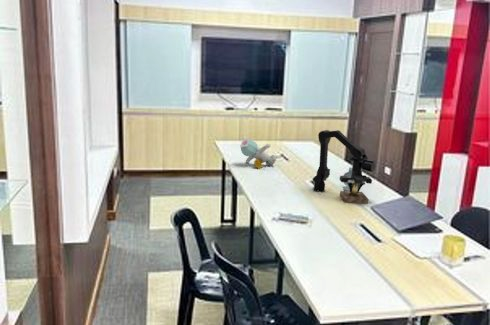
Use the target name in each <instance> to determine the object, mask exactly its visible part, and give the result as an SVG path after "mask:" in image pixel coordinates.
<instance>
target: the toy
mask: <svg viewBox="0 0 490 325" xmlns="http://www.w3.org/2000/svg"><path fill="white" fill-rule="evenodd" d="M269 148H271V144H270V143H266V144H265V145H264V146H262V147H261V148H260V147H258V144H257V143H256V142H255V141H254V140H252V139H251V138H242V140H241V143H240V151H241V153H242V155H243V156H245V157H247V158H246V159H245V163H246V164H248V163H250V162H251V161H252V160H254V162H253V163H254V167H256V168H257V169H259V170H261V169H262V168H263V163H265V164H266V165H267V166H270V167H271V166H273V165H274V164H275V163H276V161H277V156H276V155H274V154H272V155H270V154H269V153H268V152H266V150H268V149H269Z"/></svg>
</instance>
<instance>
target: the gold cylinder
mask: <svg viewBox="0 0 490 325" xmlns="http://www.w3.org/2000/svg"><path fill="white" fill-rule="evenodd" d="M358 185H359V183H357V184H356V183H355V182H352V191H351V196H357V193H358Z"/></svg>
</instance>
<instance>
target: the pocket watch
mask: <svg viewBox="0 0 490 325" xmlns="http://www.w3.org/2000/svg"><path fill="white" fill-rule="evenodd" d="M351 174H352V172H349V171H347V172H345V173H344V174H343V175H342V176H347V177H348V178H351ZM352 182H354V181H351V183H352ZM342 183H343V185H345V186H344V187H343V191H350V190H349V186H348V184H347V183H346V182H342Z"/></svg>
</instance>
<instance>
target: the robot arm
mask: <svg viewBox="0 0 490 325" xmlns="http://www.w3.org/2000/svg"><path fill="white" fill-rule="evenodd" d="M317 136H318V142H319V144H320V147H319V148H320V149H319V165H318V166H319V167H318V168H317V171H316V175H315V176H313V178H312V182H313V187H312V189H313V191H314V192H325V190H326V189H325V188H326V183H325V181H327V179H328V178H329V177H330V175H331V174H330V173H331V169H330V168H328V154H329V153H328V152H329V144H330V141H331V139H332V138H336V140H337V141H338V142H340V143H341V144H342V145H343V146H344V147H345V148H346V149H347V150H348V151H349V153H350V154H351V156H352V157H351V158H350V159H349V161H352V165H353V166H352V165H351V166H352V174H351V178H348V177H347V176H343V175H340V176H339V181H340V182H341V183H343V182H346V183H347V184H348V186H349V190H350V193H351V191H352V183H351V181H354V182H355V183H356V184H357V183H359V185H358V192H361V191H360V190H361V188H362V187H363V186H364V185H366V184H369V185H370V184H372V182H373V180H372V178H371V177H370V176H367V175H364V174H363V171H365V172H371V173H373V172H375V171H376V170H375V169H376V163H375V160H373V159H371V160H370V159H369V158H368V156H367V155H366V150H365V149H364V148H363V147H361V146H359V145H357V144H355V143H354V142H352V141H351V140H350V139H349V138H348V137H347V136H346V135H345V134H343V133H342V132H341V130H328V129H325V130H320V131H319V132H318V135H317Z"/></svg>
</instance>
